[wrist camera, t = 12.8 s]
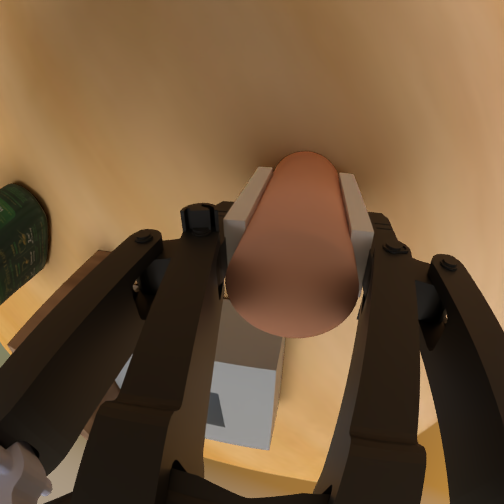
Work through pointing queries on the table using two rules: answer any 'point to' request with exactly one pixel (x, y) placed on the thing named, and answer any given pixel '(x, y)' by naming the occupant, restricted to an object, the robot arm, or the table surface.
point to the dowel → (296, 253)
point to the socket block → (242, 382)
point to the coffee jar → (20, 239)
